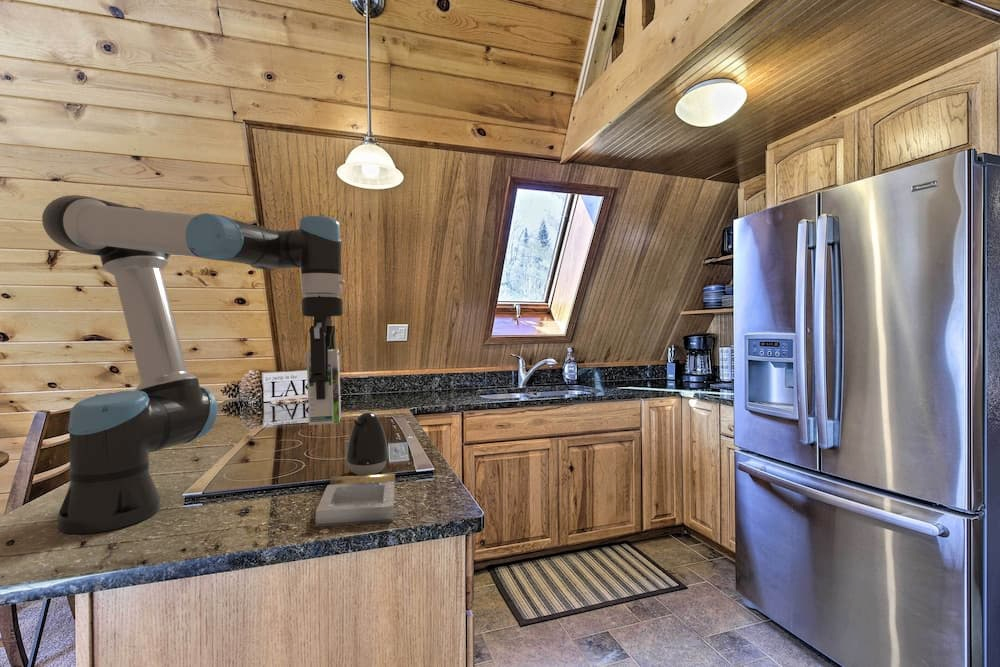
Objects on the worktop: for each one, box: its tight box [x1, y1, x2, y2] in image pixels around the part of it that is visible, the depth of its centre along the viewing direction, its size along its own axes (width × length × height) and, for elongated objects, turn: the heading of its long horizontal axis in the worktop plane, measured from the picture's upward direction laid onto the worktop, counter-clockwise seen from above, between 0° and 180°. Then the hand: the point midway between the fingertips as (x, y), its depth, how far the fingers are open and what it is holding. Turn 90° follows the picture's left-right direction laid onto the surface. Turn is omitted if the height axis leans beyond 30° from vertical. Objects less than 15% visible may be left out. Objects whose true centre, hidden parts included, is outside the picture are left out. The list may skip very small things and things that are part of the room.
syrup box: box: [306, 348, 342, 426], centre depth 95 cm, size 6×6×14 cm
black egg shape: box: [345, 412, 389, 476], centre depth 119 cm, size 10×10×15 cm
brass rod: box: [329, 473, 396, 488], centre depth 108 cm, size 14×3×3 cm, turn 101°
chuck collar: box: [315, 481, 395, 528], centre depth 96 cm, size 14×14×3 cm
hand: (325, 412), depth 95 cm, fingers closed on syrup box, 6 cm apart
